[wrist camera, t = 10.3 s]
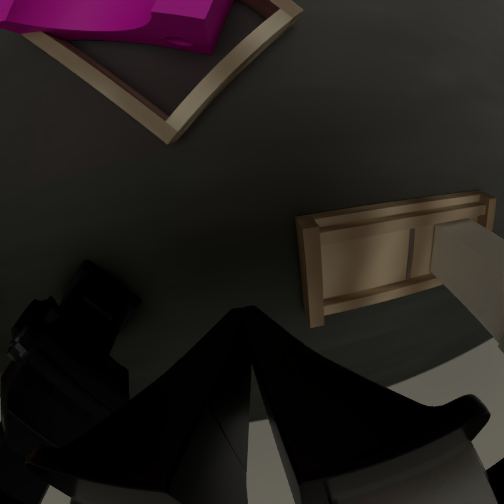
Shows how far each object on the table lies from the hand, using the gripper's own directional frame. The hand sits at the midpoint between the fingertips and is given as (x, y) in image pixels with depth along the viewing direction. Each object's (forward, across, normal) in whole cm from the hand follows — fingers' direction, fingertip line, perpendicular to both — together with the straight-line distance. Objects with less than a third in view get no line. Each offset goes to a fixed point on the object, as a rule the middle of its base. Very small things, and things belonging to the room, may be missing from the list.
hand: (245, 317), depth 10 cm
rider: (+12, +19, -6) cm, 23 cm away
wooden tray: (+13, +14, -6) cm, 20 cm away
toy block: (+13, -5, +18) cm, 23 cm away
